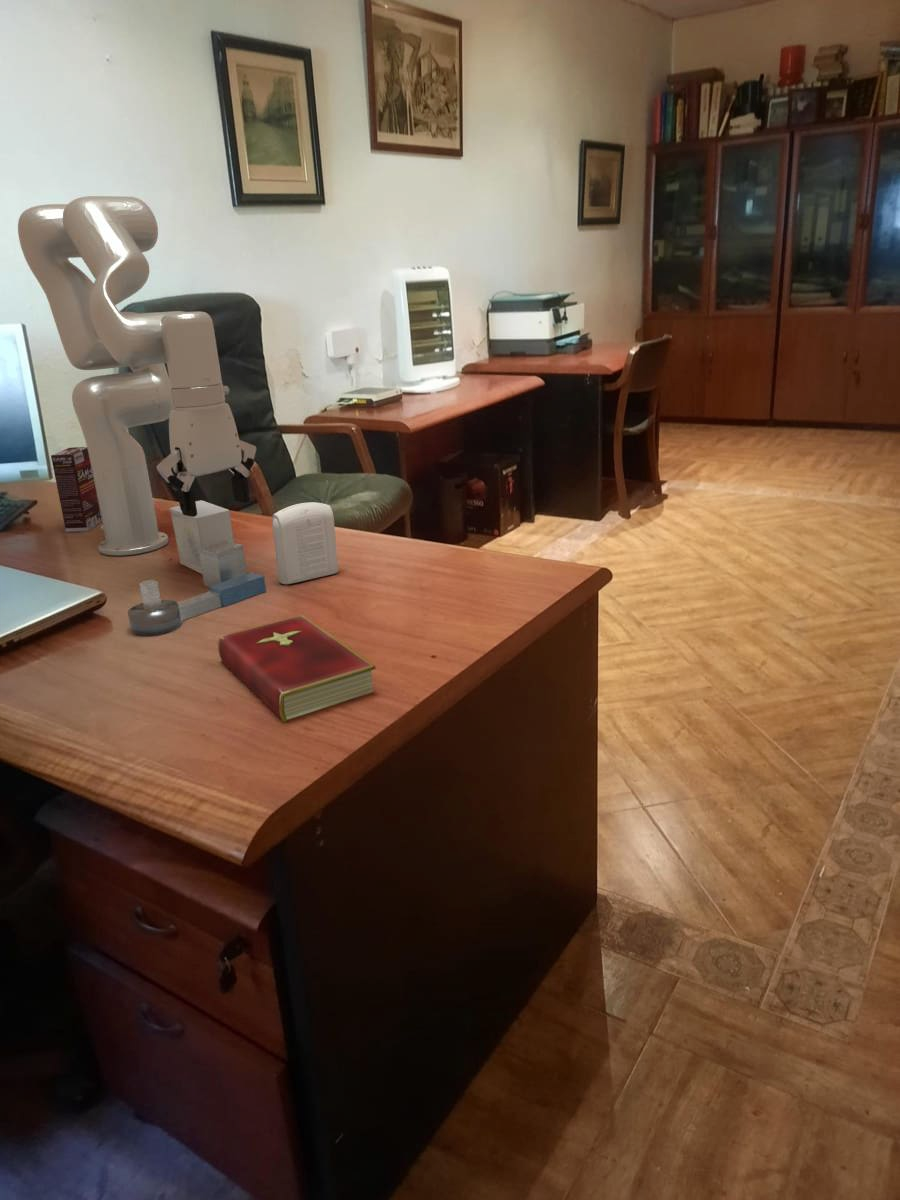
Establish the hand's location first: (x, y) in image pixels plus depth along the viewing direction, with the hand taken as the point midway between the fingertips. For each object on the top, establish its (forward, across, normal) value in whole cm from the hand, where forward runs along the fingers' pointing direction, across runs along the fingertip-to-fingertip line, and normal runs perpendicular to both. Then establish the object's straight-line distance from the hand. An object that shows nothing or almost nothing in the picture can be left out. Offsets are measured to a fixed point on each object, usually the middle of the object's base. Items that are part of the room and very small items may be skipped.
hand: (216, 508), depth 139 cm
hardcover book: (+14, +16, +36) cm, 42 cm away
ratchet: (+13, +9, +6) cm, 17 cm away
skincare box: (+13, -4, -12) cm, 18 cm away
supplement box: (+12, -5, -58) cm, 59 cm away
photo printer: (+13, -10, +8) cm, 19 cm away
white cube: (+13, 0, -1) cm, 13 cm away
